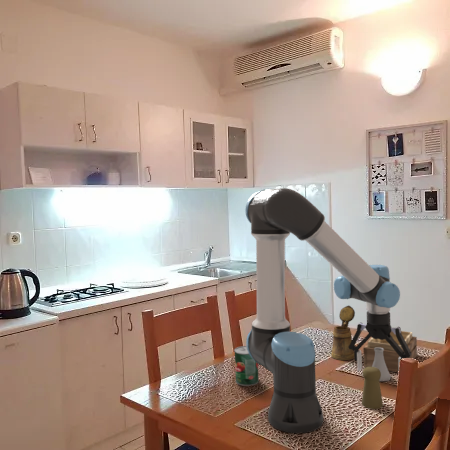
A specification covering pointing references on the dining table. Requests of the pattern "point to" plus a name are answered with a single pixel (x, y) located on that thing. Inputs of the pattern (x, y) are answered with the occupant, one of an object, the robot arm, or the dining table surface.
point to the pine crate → (385, 345)
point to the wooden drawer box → (388, 356)
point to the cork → (372, 388)
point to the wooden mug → (343, 336)
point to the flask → (381, 364)
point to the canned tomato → (245, 367)
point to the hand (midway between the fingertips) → (379, 373)
